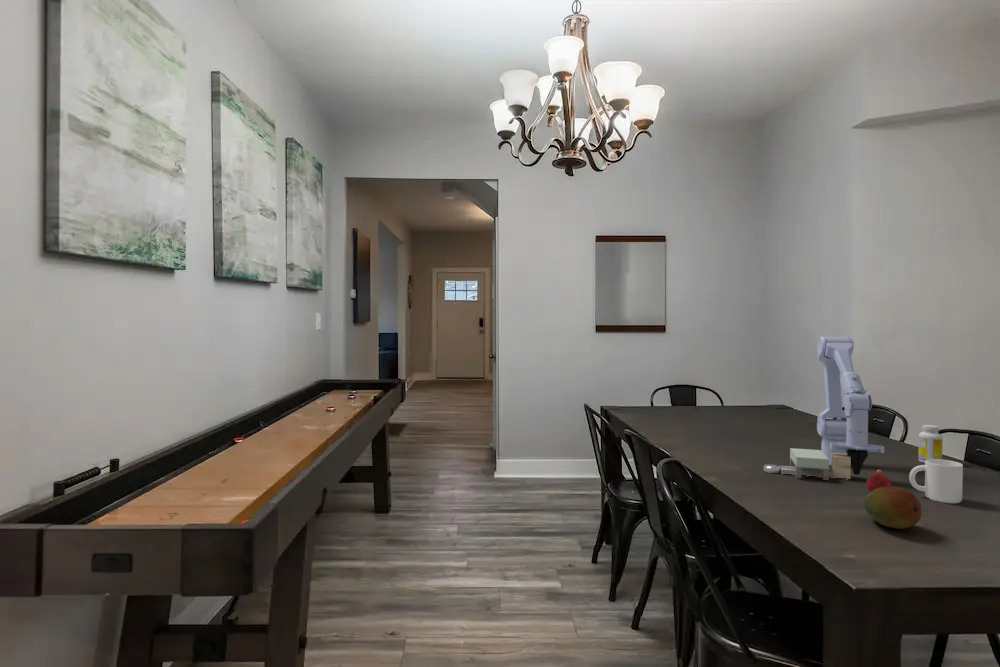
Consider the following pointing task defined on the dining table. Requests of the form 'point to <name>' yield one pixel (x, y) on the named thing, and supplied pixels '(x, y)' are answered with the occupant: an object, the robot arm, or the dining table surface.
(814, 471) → the beige piece
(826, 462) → the green top stand
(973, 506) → the dining table surface
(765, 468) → the token
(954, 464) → the mug
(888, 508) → the fruit
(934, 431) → the supplement bottle
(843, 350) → the robot arm
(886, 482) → the pomegranate
